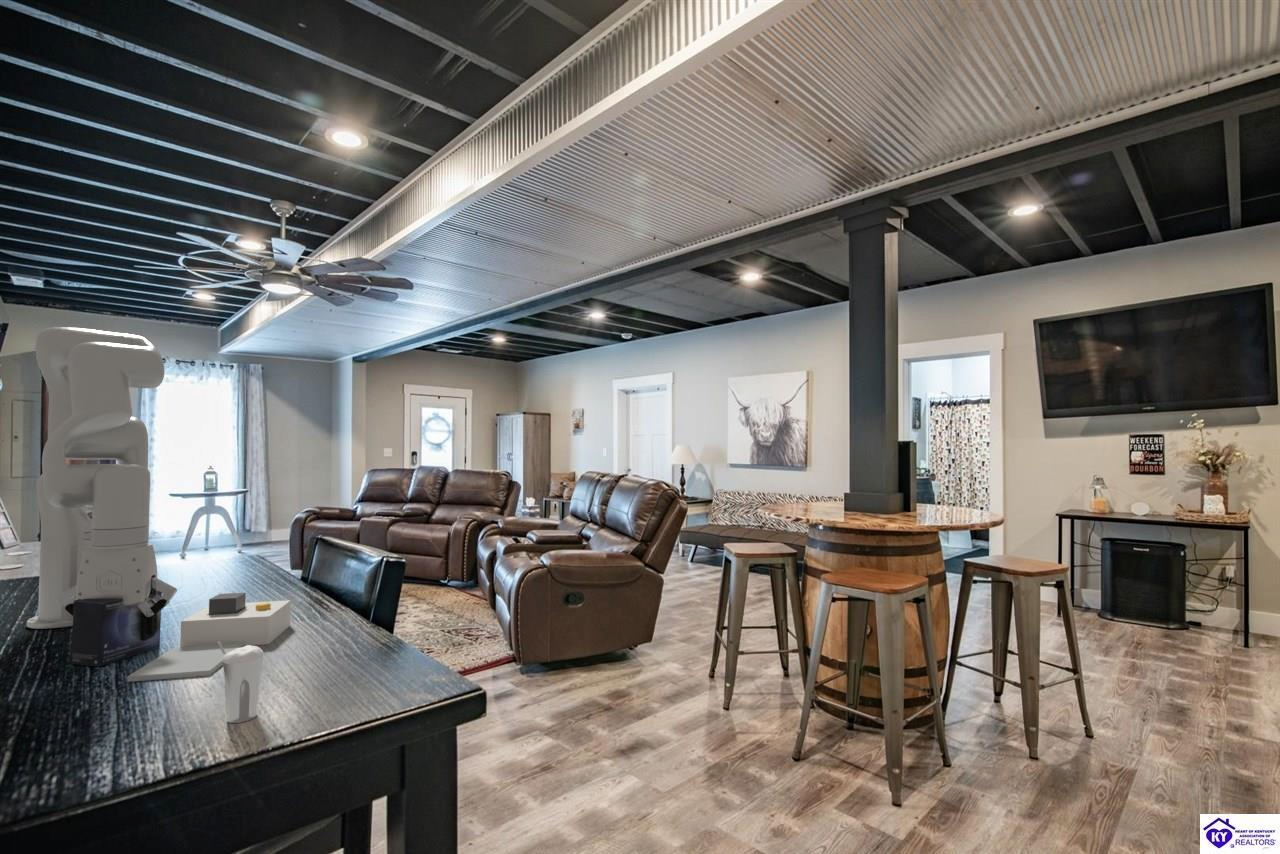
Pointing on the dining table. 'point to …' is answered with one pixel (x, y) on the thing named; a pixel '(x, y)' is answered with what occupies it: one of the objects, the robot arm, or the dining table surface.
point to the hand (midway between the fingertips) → (117, 639)
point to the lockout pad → (184, 662)
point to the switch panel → (237, 625)
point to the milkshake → (242, 682)
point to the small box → (108, 631)
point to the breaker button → (227, 603)
